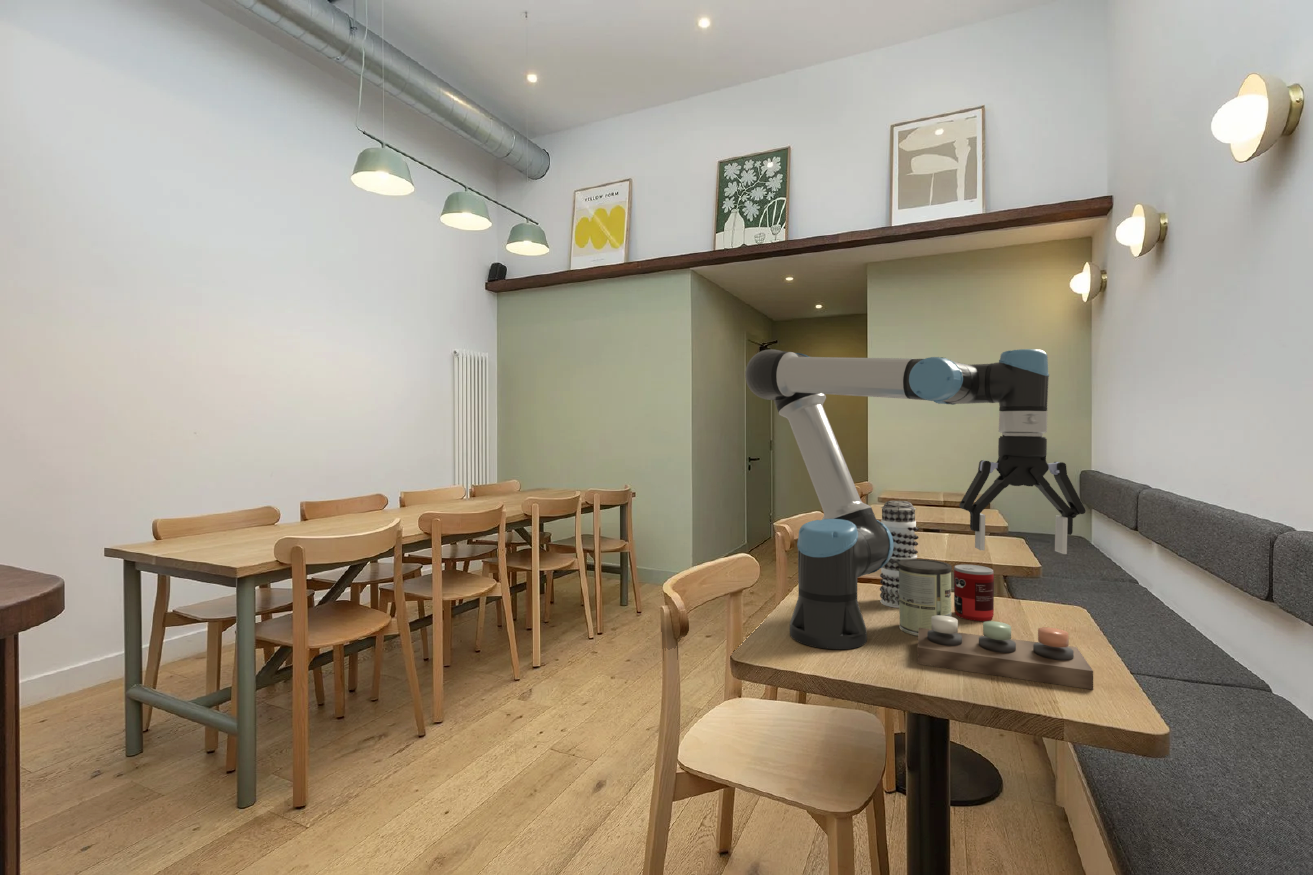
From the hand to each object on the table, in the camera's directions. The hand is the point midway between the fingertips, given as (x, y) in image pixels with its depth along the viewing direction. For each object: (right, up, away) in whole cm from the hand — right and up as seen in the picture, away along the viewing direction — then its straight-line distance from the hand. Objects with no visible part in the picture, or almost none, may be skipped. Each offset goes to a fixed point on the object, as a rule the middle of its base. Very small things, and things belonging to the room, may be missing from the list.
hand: (1019, 550), depth 108 cm
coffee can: (-10, -20, +17) cm, 28 cm away
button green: (-5, -15, -2) cm, 16 cm away
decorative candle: (-7, -20, +37) cm, 42 cm away
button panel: (-5, -20, -2) cm, 21 cm away
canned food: (+6, -20, +26) cm, 34 cm away
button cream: (-13, -15, +2) cm, 20 cm away
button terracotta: (+2, -15, -5) cm, 16 cm away
